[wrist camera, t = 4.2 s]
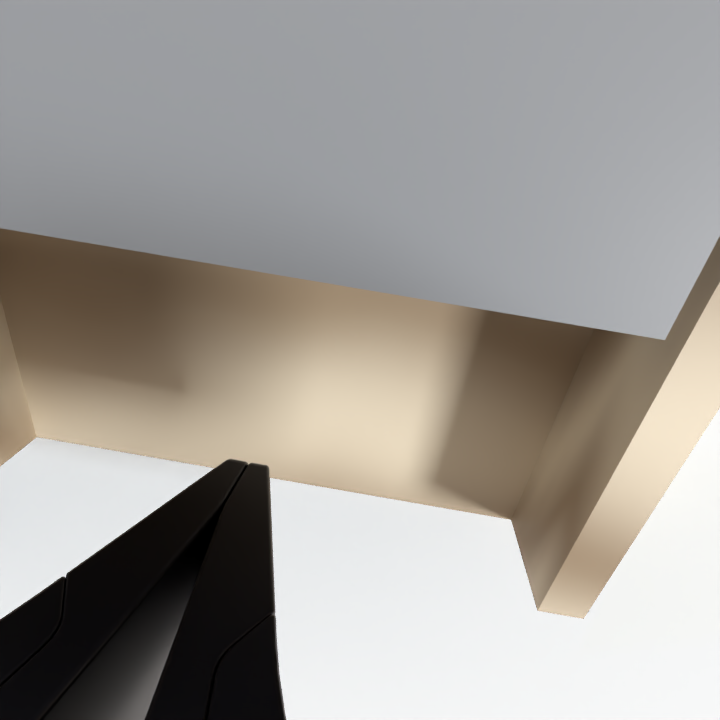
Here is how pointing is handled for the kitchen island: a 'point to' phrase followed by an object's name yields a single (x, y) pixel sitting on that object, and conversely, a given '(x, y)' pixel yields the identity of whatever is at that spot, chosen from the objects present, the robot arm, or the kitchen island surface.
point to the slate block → (380, 144)
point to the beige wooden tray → (363, 393)
